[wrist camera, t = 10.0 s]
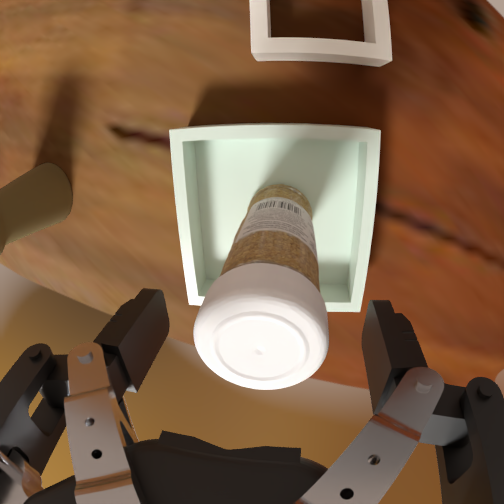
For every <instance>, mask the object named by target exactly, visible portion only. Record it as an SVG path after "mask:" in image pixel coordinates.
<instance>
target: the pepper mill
mask: <svg viewBox="0 0 504 504" xmlns="http://www.w3.org/2000/svg"><path fill="white" fill-rule="evenodd" d="M71 207H72V190H71V185H70V183H69V180H68V178H67V176H66V174H65V173H64V172H63V171H62V169H61V168H60V167H58V166H57V165H55V164H53V163H48V162H47V163H43V164H40V165H39V166H37V167H35V168H33V169H32V170H30V171H28V172H27V173H25V174H23V175H22V176H20V177H18V178H17V179H15V180H14V181H12V182H10V183H9V184H7V185H6V186H4V187H3V188H1V189H0V254H1V253H2V252H3V249H4V247H5V245H7V244H9V243H11V242H14V241H16V240H18V239H21V238H23V237H25V236H28V235H30V234H32V233H35V232H37V231H40V230H42V229H45V228H47V227H50V226H52V225H55V224H57V223H60V222H62V221H63V220H65V219H66V218H67V216H68V215H69V213H70V211H71Z"/></svg>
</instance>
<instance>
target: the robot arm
mask: <svg viewBox="0 0 504 504" xmlns="http://www.w3.org/2000/svg"><path fill="white" fill-rule="evenodd" d="M168 332H169V317H168V313H167V308H166V303H165V299H164V294H163V292H162V290H159V289H147V288H143V289H142V290H141V291H140V292H139V294H138V295H137V296H136V297H135V299H131V300H129V301H128V302H126V303H125V304H123V305H122V306H121V307H120V308H119V309H118V311H117V312H116V313H115V315H114V316H113V317H112V318H111V319H110V322H108V323H107V324H106V326H105V327H104V328H103V330H102V331H101V332H100V333H99V335H98V336H97V337H96V339H95V340H94V341H93V342H86V343H82V344H79V345H77V346H76V347H74V348H73V349H72V350H71V351H70V352H69V354H68V355H53V353H52V351H51V349H50V347H49V346H48V345H46V344H35V345H33V346H30V347H29V348H27V349H26V350H25V351H24V352H23V354H22V355H21V356H20V357H19V359H18V360H17V361H16V362H15V364H14V365H13V366H12V368H11V369H10V370H9V371H8V373H7V374H6V375H5V377H4V378H3V379H2V381H1V382H0V504H378V503H379V501H380V500H381V499H382V497H383V496H384V494H385V493H386V492H387V490H388V489H389V488H390V486H391V485H392V483H393V482H394V480H395V479H396V477H397V476H398V474H399V473H400V471H401V470H402V468H403V467H404V465H405V463H406V462H407V460H408V459H409V457H410V455H411V454H412V452H413V450H414V449H415V447H416V445H417V443H418V442H421V443H427V444H433V445H435V448H436V454H437V461H438V468H439V475H440V484H441V494H442V504H504V398H503V395H502V393H501V390H500V388H499V387H498V385H497V384H496V383H495V382H493V381H492V380H490V379H488V378H485V377H477V378H474V379H472V380H471V381H470V382H469V383H468V385H467V386H466V387H460V386H454V385H449V384H445V383H444V382H443V379H442V377H441V376H440V375H439V374H438V373H437V372H436V371H434V370H432V369H430V368H428V366H427V363H426V360H425V358H424V355H423V353H422V350H421V347H420V345H419V342H418V341H417V337H416V335H415V333H414V330H413V327H412V325H411V323H410V321H409V320H408V319H407V318H406V317H405V316H404V315H403V314H402V313H394V310H393V307H392V305H391V302H390V301H389V300H370V301H369V304H368V309H367V314H366V319H365V323H364V328H363V333H362V350H363V356H364V361H365V366H366V372H367V378H368V384H369V390H370V395H371V403H372V409H373V414H375V415H374V416H373V417H372V418H371V419H370V420H369V422H368V423H367V424H366V426H365V427H364V428H363V429H362V431H361V432H360V433H359V435H358V436H357V437H356V438H355V440H354V441H353V442H352V443H351V444H350V445H349V447H348V448H347V449H346V450H345V451H344V452H343V454H342V455H341V456H340V457H339V458H338V459H337V460H336V462H335V463H334V464H333V465H332V466H331V467H330V468H329V469H327V468H326V467H324V466H323V465H320V464H319V463H317V462H314V461H312V460H309V459H305V458H302V457H300V456H301V448H286V447H270V446H262V447H254V448H244V449H233V450H226V449H223V448H220V447H218V446H215V445H212V444H210V443H208V442H205V441H203V440H200V439H198V438H195V437H192V436H187V435H181V434H176V433H172V432H167V431H162V433H161V435H160V438H159V439H151V440H145V441H140V442H139V440H138V438H137V436H136V433H135V430H134V427H133V424H132V421H131V418H130V415H129V411H128V408H127V405H126V401H125V399H124V397H123V395H124V393H125V391H126V390H127V391H132V392H136V393H137V392H138V390H139V388H140V385H141V384H142V382H143V380H144V378H145V376H146V374H147V372H148V370H149V369H150V367H151V365H152V363H153V361H154V359H155V357H156V355H157V354H158V352H159V350H160V348H161V346H162V345H163V343H164V341H165V339H166V337H167V335H168ZM38 391H39V392H40V393H41V395H42V396H43V399H42V400H41V402H40V404H39V405H38V407H37V409H36V410H35V412H34V413H33V415H32V417H31V418H30V416H29V413H28V409H29V405H30V403H31V402H32V400H33V399H34V397H35V396H36V394H37V393H38ZM66 425H67V433H68V440H69V446H70V452H71V458H72V463H73V468H74V473H75V475H73V476H71V477H69V478H67V479H65V480H63V481H61V482H59V483H56V484H54V485H52V486H50V487H48V488H46V489H43V487H42V486H41V485H42V480H41V475H42V473H43V470H44V468H45V466H46V464H47V462H48V460H49V458H50V456H51V454H52V452H53V450H54V448H55V446H56V444H57V442H58V440H59V439H60V436H61V435H62V433H63V431H64V429H65V427H66Z"/></svg>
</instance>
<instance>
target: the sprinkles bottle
mask: <svg viewBox="0 0 504 504" xmlns="http://www.w3.org/2000/svg"><path fill="white" fill-rule="evenodd" d="M312 217H313V216H312V208H311V206H310V203H309V201H308V199H307V198H306V197H305V195H303V193H302V192H300V191H299V190H298V189H296V188H293V187H291V186H288V185H284V184H276V185H270V186H267V187H265V188H263V189H261V190H259V191H258V192H257V193H256V194H255V195H254V196H253V197H252V199H251V201H250V204H249V206H248V209H247V214H246V216H245V218H244V219H243V220H242V222H241V224H240V226H239V228H238V231H237V233H236V235H235V237H234V240H233V244H232V247H231V249H230V252H229V254H228V257H227V259H226V261H225V263H224V266H223V268H222V271H221V274H220V276H219V277H218V278H217V279H216V280H215V281H214V282H213V284H212V285H211V287H210V288H209V290H208V291H207V293H206V295H205V298H204V300H203V302H202V305H201V307H200V310H199V312H198V315H197V318H196V321H195V324H194V332H193V334H194V343H195V346H196V349H197V351H198V353H199V355H200V357H201V358H202V360H203V361H204V362H205V364H206V365H207V366H208V367H209V368H210V369H211V370H212V371H214V372H215V373H216V374H217V375H219V376H221V377H222V378H224V379H226V380H228V381H230V382H232V383H235V384H237V385H240V386H243V387H247V388H254V389H265V390H269V389H280V388H285V387H289V386H292V385H295V384H297V383H299V382H301V381H303V380H305V379H307V378H308V377H310V376H311V375H312V374H313V373H314V372H315V371H317V369H318V368H319V367H320V366H321V364H322V363H323V361H324V359H325V357H326V354H327V351H328V347H329V332H328V318H327V310H326V305H325V302H324V300H323V298H322V295H321V294H320V286H319V265H318V257H317V249H316V240H315V233H314V227H313V223H312Z"/></svg>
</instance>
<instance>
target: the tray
mask: <svg viewBox="0 0 504 504" xmlns="http://www.w3.org/2000/svg"><path fill="white" fill-rule="evenodd" d="M169 132H170V146H171V159H172V171H173V181H174V192H175V201H176V211H177V220H178V228H179V236H180V244H181V252H182V259H183V266H184V273H185V280H186V287H187V293H188V300H189V305H202V302H203V300H204V298H205V295H206V293H207V291H208V290H209V288H210V287H211V285H212V284H213V282H214V281H215V280H216V279H217V278H218V277H219V276H220V274H221V271H222V268H223V266H224V263H225V261H226V259H227V257H228V254H229V252H230V249H231V247H232V244H233V240H234V237H235V235H236V233H237V231H238V228H239V226H240V224H241V222H242V220H243V219H244V218H245V216H246V214H247V209H248V206H249V204H250V201H251V199H252V197H253V196H254V195H255V194H256V193H257V192H258V191H259V190H261V189H263V188H265V187H267V186H270V185H276V184H284V185H288V186H291V187H293V188H296V189H298V190H299V191H300V192H302V193H303V195H305V197H306V198H307V199H308V201H309V203H310V206H311V208H312V216H313V217H312V223H313V227H314V233H315V240H316V249H317V257H318V265H319V286H320V294H321V295H322V298H323V300H324V302H325V305H326V310H327V311H328V312H360V309H361V303H362V298H363V293H364V287H365V281H366V275H367V269H368V262H369V256H370V249H371V241H372V234H373V225H374V217H375V207H376V197H377V186H378V173H379V157H380V136H381V130H378V129H373V128H369V127H360V126H347V125H331V124H308V123H241V124H218V125H202V126H189V127H183V128H177V129H172V130H169Z"/></svg>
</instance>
